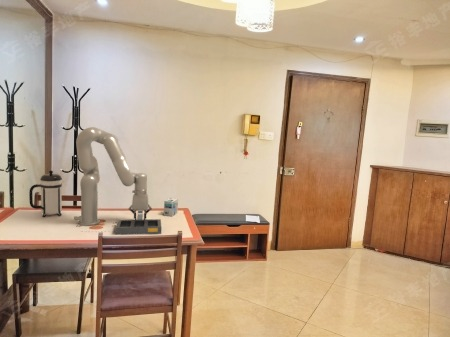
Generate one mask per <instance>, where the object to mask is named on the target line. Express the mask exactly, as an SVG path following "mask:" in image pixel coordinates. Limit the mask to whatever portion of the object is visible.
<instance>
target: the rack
mask: <svg viewBox="0 0 450 337" xmlns="http://www.w3.org/2000/svg"><path fill="white" fill-rule="evenodd" d="M159 234H160V235H162V220H161V219H160V218H159V219H156V218H155V219H154V218H152V219H147V218H146V219H144V218H143V219H141V220H137V219H136V220H135V219H118V220H117V222H116V226H115V235H121V236H122V235H159Z"/></svg>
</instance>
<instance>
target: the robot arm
mask: <svg viewBox="0 0 450 337" xmlns="http://www.w3.org/2000/svg"><path fill="white" fill-rule="evenodd" d="M75 140H76V141H75V143H76V152H77V159H78V167H79V168H80V170H81V171H82V172H83V175H82V176H81V179H80V201H81V202H80V206H81V208H80V209H81V210H80V213H81V215H79V216H78V215H75V216H73V220H74V221H78V224H79V225H81V226H87V227H88V226H95V225H98V224H100V223H101V220H100V219H99V217H98V216H99V215H98V214H99V213H98V210H99V209H98V208H99V206H98V205H99V204H98V198H99V197H98V184H99V182H100V178H101V176H100V171H99V170H100V169H99V163H98V159H97V157H95V156H94V155H93V147H92V143H93V142H95V143H98V144H100V145H103V147H104V149H105V150H106V152H107V154H108V157H109V159H110V161H111V162H112V164H113V165H112V166H113V167H114V170H115V172H116V174H117V177H118V178H119V180H120V182H121V183H122V185H123V186H125V187H132V186H133V185H134V190H132V193H133V195H132V203H131V205H130V206H129V207H128V210H129V211H130V212H131V213H132V214H133V220H137V211H138V210H143V219H147V214H149V212H150V211H152V209H153V208H152V206H150V204H149V195H148V194H147V192H148V191H147V188H148V183H147V182H148V175H147V174H146V173H143V172H137V173H136V172H131V170H130V168H129V166H128V163H127V160H126V159H127V158H126V156H125V153H124V152H123V149H122V148H121V145H120V144H119V139H118V137H117V136H116V135H114V134H112V133H111V132H107V131H105V130H102V129H100V128H98V127H94V126H93V127H86V128H85V129H83V130H82V131H80V132H79V133H78V135H77V138H76V139H75Z"/></svg>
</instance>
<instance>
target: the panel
mask: <svg viewBox="0 0 450 337" xmlns="http://www.w3.org/2000/svg"><path fill="white" fill-rule="evenodd" d="M141 219H144V210H137V215H136V220H141Z"/></svg>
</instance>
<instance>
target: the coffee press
mask: <svg viewBox="0 0 450 337" xmlns="http://www.w3.org/2000/svg"><path fill="white" fill-rule="evenodd" d="M39 180H40V184H39V183H38V184H37V183H36V184H34V185H32V186H30V188H29V194H28V195H29V197H28V198H29V206H30V207H31V208H32V209H35V210H36V209H37V210H41V213H43V214H42V215H41V217H42V218H46V217H47V216H49V215H50V216H51V215H57V216H58V217H61V216H62V210H63V208H62V205H63V202H62V198H63V197H62V194H63V193H62V187H63V184H62V183H65V180H64V179H63V177H62V176H61V175H60V174H59V173H54V171H53V170H49V171H48V173H46V174H42V176H41V177H40V178H39ZM35 188H40V201H41V202H40V204H41V205H34V202H33V201H34V200H33V197H34V196H33V191H34V189H35Z"/></svg>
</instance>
